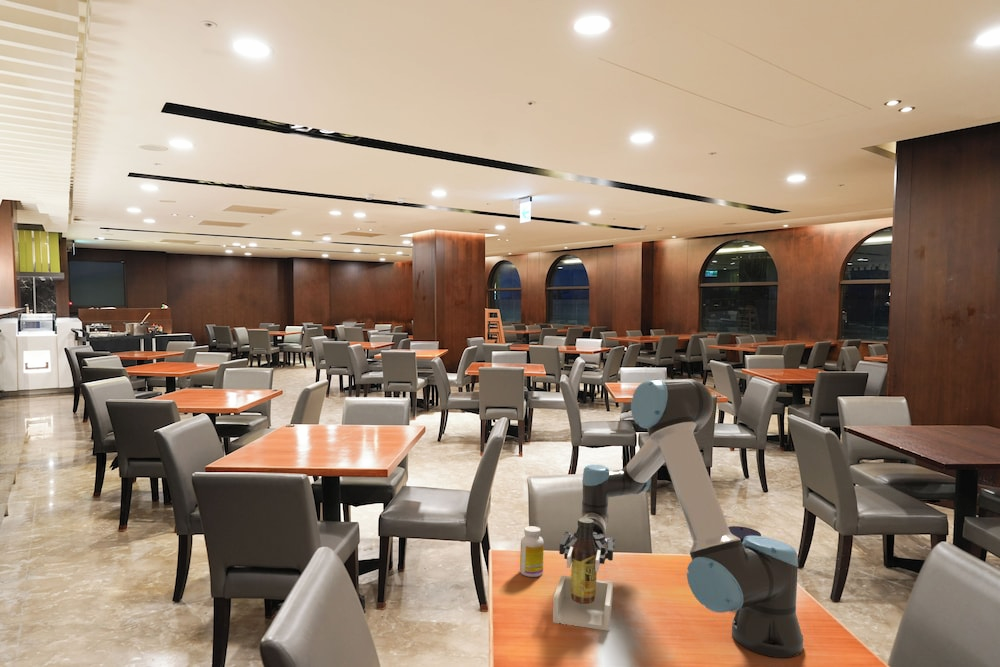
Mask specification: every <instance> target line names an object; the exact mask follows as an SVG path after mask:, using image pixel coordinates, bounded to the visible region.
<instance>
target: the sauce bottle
mask: <svg viewBox="0 0 1000 667" xmlns="http://www.w3.org/2000/svg"><path fill="white" fill-rule="evenodd" d="M593 527H594V521H593V520H592V519H589V518H581V517H580V518H578V519H577V529H578V538H577V540H576V541H575V543H574V545H573V556H572V563H571V574H570V575H571V576H570V577H571V598H572V600H573V601H575V602H577V603H580V604H589V603H592V602H593V601H594V599H595V595H596V580H597V571H595V562H596V556H597V550H596V547H595V543H594V540H593Z"/></svg>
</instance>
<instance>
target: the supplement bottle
mask: <svg viewBox="0 0 1000 667" xmlns="http://www.w3.org/2000/svg"><path fill="white" fill-rule="evenodd" d="M523 531H524V532H523V533H524V535H523V536H522V537H521V538H520V558H519V559H520V562H519V563H520V564H519V569H520V570H519V571H520V574H521V575H522V576H525V577H527V578H529V577H530V578H536V577H540V576H542V575H543V573H544V543H545V542H544V539H543V537H542V536H541V533H542V532H541V528H540V527H539V526H535V525H534V526H532V525H530V526H529V525H528V526H526V527H524V530H523Z"/></svg>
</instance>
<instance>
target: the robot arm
mask: <svg viewBox="0 0 1000 667" xmlns="http://www.w3.org/2000/svg"><path fill="white" fill-rule="evenodd" d="M714 404H715V403H714V398H713V395H712V393H711V391H710V389H709V388H708V387H707V386H706V385H705V384H703V383H702V382H701V381H699V380H696V379H693V378H678V379H659V378H658V379H653V380H646V381H643V382H641V383H640V384H639V385H638V386H637V387H636V388H635V390H634V392H633V394H632V397H631V401H630V411H631V415H632V419H633V421H634V422H635V424H636V425H638V426H639V427H640V428H642V429H647V433H648V435H649V438H648V439H647V440H646V441H645V443H644V444H643V445H642V446H641V448H640V449H639V450H638V451H637V452H636V453H635V454H634V456H633V457H632V458H631V459H630V460H629V461H628V463H627V464H626V465H625V466H624V467H623V468H622V469H617V470H610V469H609V468H608V467H607V466H605V465H602V464H601V465H600V464H589V465H586V466H585V467H584V469H583V473H582V480H581V482H582V502H581V515H580V518H589V519H592V520H593V521H594V527H593V540H594V543H595V547H596V550H597V556H596V562H595V571H597V572H600V571H599V570H600V566H601V565H604V564H605V563H606V562H605V561H606V560H608V561H611V562H612V561H613V560H614V548H615V545H616V544H615V540H616V539H615V537H614V536H610V537H607V538H606V536H605V535H606V529H607V524H608V523H609V513H608V512H609V510H608V509H609V498H615V497H620V496H628V495H629V496H630V495H639V494H641V493H646V492H647V491H649V489H650V485H651V483H652V481H651V480H652V479H651V478H652V477H653V475H655V473H656V472H657V471H658V470H659V469H660V468H661V467H662V465H664V464H666V465H665V466H666V468H667V471H668V474H669V477H670V479H671V483H672V486H673V488H674V491H675V494H676V497H677V500H678V502H679V505H680V508H681V511H682V514H683V517H684V520H685V522H686V525H687V529H688V531H689V534H690V537H691V540H692V544H691V547H690V549H689V551H688V552H689V555H690V559H691V561H690V562H689V563H688V564H687V568H686V569H687V572H686V580H687V583H688V586H689V589H690V591H691V592H692V595H693V596H694V597H695V599H696V600H697V601H698V602H699V603H700V605H703V606H704V607H705V608H706V609H707V610H709V611H710V612H714V613H719V614H721V613H723V614H724V613H727V612H736V613H735V615H734V617H733V619H732V623H731V635H732V637H733V639H734V640H735V641H736V642H737V643H738V644H739V645H741V646H742V647H744V648H746V649H748V650H750V651H751V652H753V653H757V654H760V655H764V656H767V655H768V656H767V657H772V656H773V657H774V658H793V657H796V656H798V655H797V654H799V653H800V654H802V652H803V650H804V636H803V634H802V630H801V626H800V622H799V619H798V616H797V594H798V592H797V591H798V589H797V587H798V569H799V563H798V561H799V560H798V553H797V550H796V549H795V548H794V547H793V546H791V545H790V544H788V543H786V542H783V541H781V540H777V539H774V538H770V537H767V536H762V535H761V536H746V537H744V539H743V542H741V540H740V538H738V537H736V536H734V535H733V534H732V533H730V530H729V528H728V527H729V525H728V522H727V520H726V517H725V515H724V512H723V509H722V506H721V504H720V501H719V499H718V496H717V492H716V490H715V487H714V486H713V485H714V484H713V483H712V480H711V477H710V475H709V472H708V469H707V467H706V464H705V461H704V459H703V456H702V453H701V450H700V448H699V444H698V443H697V440H696V437H695V434H698V433H699V432H700V431H701V429H702V428H704V426H705V425H706V424H707V423H708V422H709V420H710V419H711V416H712V414H713V410H714ZM563 533H564V534H563V537H562V539H561V541H560V543H559V551H558V552H559V553H558V554H560V555H564V557H563V558H564V559H565V560H566V568H568V569H570V568H571V567H572V556H573V545H574V543H575V541H576V540H577V538H578V528H577V529H576V532H574V533H573V534H572V533H570V532H568V531H564V532H563ZM742 544H743V545H742ZM603 545H606V547H604V546H603ZM606 548H607V550H606ZM801 651H802V652H801ZM800 654H799V655H800ZM795 655H796V656H795ZM792 656H793V657H792Z"/></svg>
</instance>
